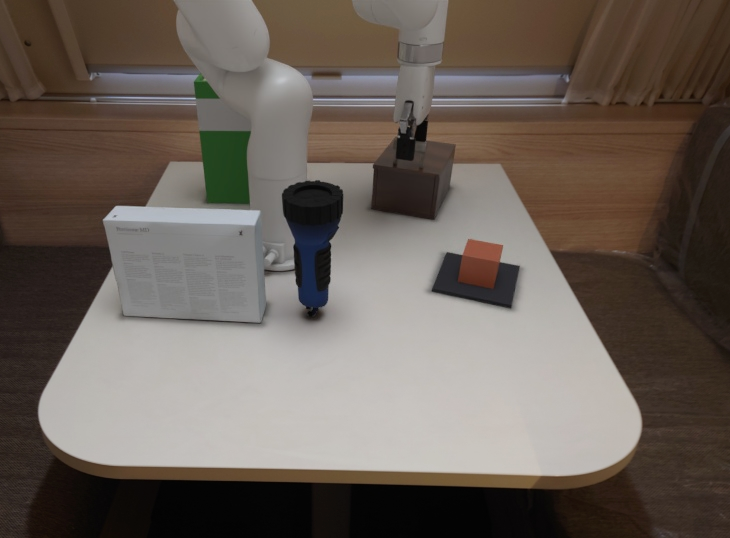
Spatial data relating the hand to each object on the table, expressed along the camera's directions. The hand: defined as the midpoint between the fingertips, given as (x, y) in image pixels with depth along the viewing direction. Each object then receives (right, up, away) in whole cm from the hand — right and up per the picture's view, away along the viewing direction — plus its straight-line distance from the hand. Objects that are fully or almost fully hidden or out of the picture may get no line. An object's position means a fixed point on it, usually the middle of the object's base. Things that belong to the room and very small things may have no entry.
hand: (411, 149), depth 106 cm
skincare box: (-36, -29, -19) cm, 50 cm away
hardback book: (-31, -7, +14) cm, 34 cm away
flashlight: (-19, -30, -21) cm, 41 cm away
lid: (+2, 0, +7) cm, 7 cm away
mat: (+8, -24, -13) cm, 29 cm away
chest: (+2, -7, +12) cm, 14 cm away
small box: (+8, -24, -14) cm, 29 cm away
